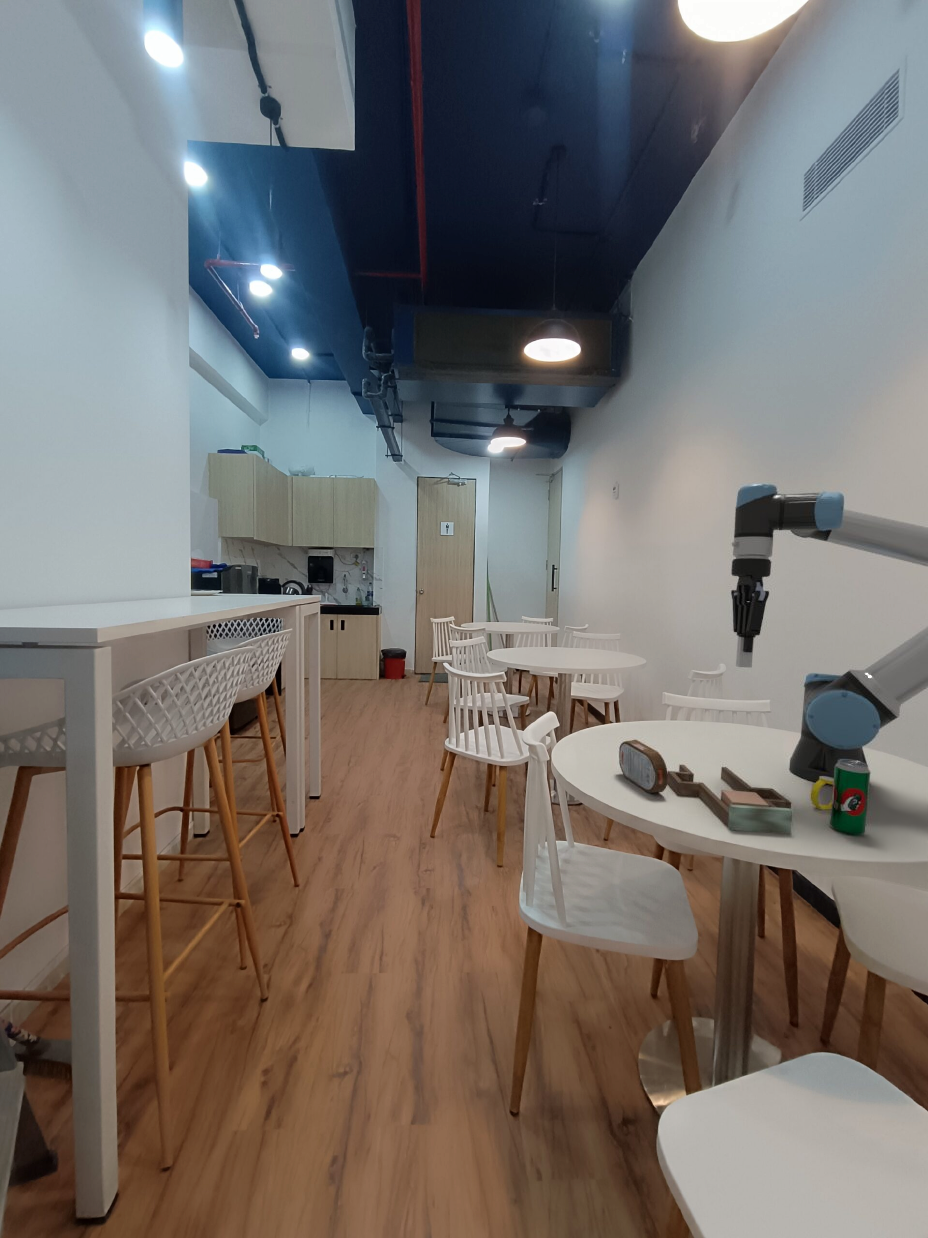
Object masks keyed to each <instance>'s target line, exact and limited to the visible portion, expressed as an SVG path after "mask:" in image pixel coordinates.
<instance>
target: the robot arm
mask: <svg viewBox="0 0 928 1238" xmlns="http://www.w3.org/2000/svg"><path fill="white" fill-rule="evenodd" d="M777 489H778V487H777V486H776V485H775V484H771V483H753V484H748V485H743V486H742V487H740V488H739V489H738V492H737V495H736V496H737V497H736V506H735V514H734V515H735V516H734V532H733V533H734V535H733V542H731V546H732V547H733V549H732V550H733V551H732V556H733V557H735V558H734V559H732V560H731V575H732V576H733V577H738V580H737V584H736V589H732V590H731V592H730V594H731V599H732V622H733V623H732V625H733V626H732V627H733V629H732V630H733V633H736V636H737V649H736V657H735V658H736V662H735V666H736V667H738V668H750V669H751V668H752V666H753V654H754V642H755V641H754V639H755V638H756V636H760V635H761V631H762V625H763V621H764V614H765V610H766V606H767V605H766V604H767V601H768V599H769V596H770V591H769V590H764V581H763V580H764V579H763V578H769V577H770V576H771V573H772V571H771V568H772V561H771V559H770V558H771V557H772V556H773V547H774V531H790V532H791V533H792V535H795V536H796V537H799V538H805V539H809V538H810V539H815V540H818V541H822V542H823V541H824V542H826V543H827V542H828V543H830V544H831V543H832V544H836V545H839V546H843V547H846V548H847V547H848V548H852V549H855V550H859V551H864V552H868V553H871V554H875V555H879V556H880V555H881V556H883V557H888V558H892V559H896V560H899V561H903V562H908V563H912V564H915V565H920V566H924V567H928V527H926V526H921V525H917V524H913V523H907V522H904V521H898V520H894V519H891V518H886V517H882V516H876V515H873V514H867V513H863V512H858V511H853V510H849V509H845V508H844V507H845V496H844V495H843V493H841V492H828V491H821V492H807V493H806V492H805V493H804V492H803V493H788V494H787V493H778V490H777ZM804 681H805V682H803V687H804V692H803V694H804V695H803V706H802V716H801V717H802V719H801V730H800V731H801V732H800V738H799V740H798V742H797V744H796V746H795V748H794V751H793V753H792V755H791V757H790V759H789V771H790V772H791V773H793V774H794V775H796V776H798V777H800V778H803V779H806V780H809V781H812V782H815V783H816V782H817V781H818V780H819V777H820V776H826V777H831V778H834V769H835V765H836V764H837V763H838V760H839V759H851V760H856V761H860V762H863V763H866V764H867V765H868V763H867V759H866V756H865V753H864V752H865V751H864V749H863V747H865V746H866V745H868V744H869V743H871V742H873V740H874V739H875V738H876V737H877V735H878V734H879V732H880V729H882V728H884V727H885V726H887V725H888V724H890V723H892V722H893V721H894V720H896V719H898V718H900V710H901V706H902V705H903V704H905V703H906V702H908V701H909V700H910V699H912V698H913V697H915V696H918V694H920V693H922V692H923V691H924V690H927V688H928V626H926V627H924V628H923V629H922V630H921V631H919V632H917V633H916V634H915V635H913V636H912V637H910V638H908V639H907V640H906V641H904V642H903V643H901V644H900V645H899V646H897V647H896V648H894V649H893V650H891V651H890V652H889V653H887V654H886V655H884V656H883V657H881V658H880V659H878V660H877V661H875V662H874V663H873V664H871V665H870V666H868V667H866V668H865V669H859V670H858V669H849V670H848V671H847V672H845V673H843V674H840V675H838V674H830V673H829V674H828V673H818V672H817V673H815V672H810V673H808V674H807V675H806V676H805V680H804ZM825 785H828V786H829V785H830V786H833V784H827V783H826V784H825Z"/></svg>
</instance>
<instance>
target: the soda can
mask: <svg viewBox="0 0 928 1238" xmlns="http://www.w3.org/2000/svg"><path fill="white" fill-rule="evenodd" d="M870 783H871V771H870V769H869V765H868V763H867V764H866V763H863V762H860V761H856V760H851V759H839V760H838V763H837V764H836V765H835V769H834V781H833V785H832V793H831V794H832V796H831V801H832V804H831V809H830V816H829V817H830V819H829V824H830V826H831V827H832V829H834V830H835V831H837V832H840V834H841V833H842V834H843V835H848V836H854V837H855V836H856V837H857V836H861V835H864V833H865V832H866V826H867V816H868V815H867V814H868V804H869V794H870V792H869V791H870Z"/></svg>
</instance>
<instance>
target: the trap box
mask: <svg viewBox="0 0 928 1238" xmlns="http://www.w3.org/2000/svg"><path fill="white" fill-rule="evenodd" d="M720 771H721V772H720V779H721V780H723V782H725V783H726V784H727V785H728V786H730V788H731V789H732V790H733V791H743V792H755V793H757V794H758V795H759V796H760V797H761V798H762V799H763V800H764V801H765V802H766V803H767V804H768V805H769V807H759V806H743V805H730V806H729V807H728V806H727V805H726V804H724V803H723V802H722V801H721V798H719V796H717V794H715V793H714V792H713V791H712V790H711V789H710V788H709V787H708V786H707V785H706V784H705V783H704V782H699V781H694V779H695V778H694V776H695V774H694V773H693V771H692V770H690V768H689V767H687V766H686V765H685V764H678V771H672V770H667V772H668V783H667V785H668V786H669V787H670V788H671V789H672V790H673V792H675V794H677V796H684V797H686V796H687V797H699V798H700V800H701V801H703V803H704V804H705V805H706V806H707V808H709V809H710V810H711V811H712V812H713V813H714V814H715V816H716V817H718V819H720V821H721V822H722V823H723V824H724V825H725V826H726V827H727V828H728V829H729V830H730V831H739V832H740V831H742V832H756V833H757V832H759V833H761V832H762V833H774V834H787V835H789V834H790V835H791V834H792V827H793V826H792V823H793V811H794V810H793V809H792V802H791V801H790V800H789V799H788V798H786V797H785V796H784V795H782V794H781V793H780V792H778V791H777V790H775V789H774V788H773V787H772V788H769V787H755V786H751V785H749V784H748V783H747V782H746V781H744V780H743V778H741V777H740V776H738V775H737V774H735V772H733V771H732V770H730V768H728V767H727V766H721V770H720Z"/></svg>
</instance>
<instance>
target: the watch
mask: <svg viewBox="0 0 928 1238" xmlns="http://www.w3.org/2000/svg"><path fill="white" fill-rule="evenodd" d="M833 781H834V778H831V777H826V776H820V777H819V780H818V781H817V782H815V783H814V784H813V786H812V787H811V790H810V795H809V796H810V801H811V804H812V805H813V806H814V807H816V808H817V809H819V810H820V811H821V810H822V811H825V810H831V804H832V800H831V801H830V802H828V804H823V805H822V804H821V805H820V804H819V800H818V797H819V792H820V791H821V789H822V787H824V785H829V784H833ZM826 783H827V784H826Z"/></svg>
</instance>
